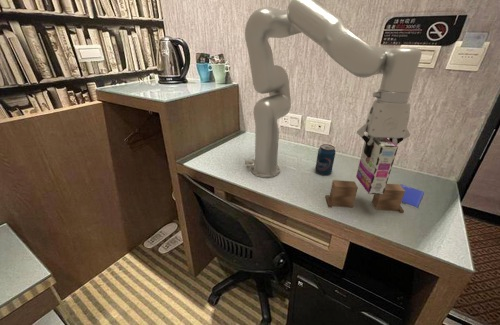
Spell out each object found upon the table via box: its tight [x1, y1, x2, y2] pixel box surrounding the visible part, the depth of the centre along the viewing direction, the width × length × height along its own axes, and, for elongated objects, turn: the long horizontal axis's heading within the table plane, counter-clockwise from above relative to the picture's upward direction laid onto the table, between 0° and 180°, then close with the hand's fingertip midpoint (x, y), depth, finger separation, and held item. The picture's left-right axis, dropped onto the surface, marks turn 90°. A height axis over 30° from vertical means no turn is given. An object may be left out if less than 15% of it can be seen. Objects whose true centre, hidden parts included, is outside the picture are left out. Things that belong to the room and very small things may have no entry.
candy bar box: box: [355, 133, 399, 195], centre depth 75 cm, size 11×5×16 cm, turn 178°
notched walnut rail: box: [325, 179, 405, 214], centre depth 81 cm, size 24×6×8 cm, turn 84°
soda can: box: [315, 143, 336, 176], centre depth 101 cm, size 7×7×12 cm
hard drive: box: [399, 183, 425, 210], centre depth 88 cm, size 2×8×12 cm
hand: (377, 155), depth 74 cm, fingers closed on candy bar box, 5 cm apart
